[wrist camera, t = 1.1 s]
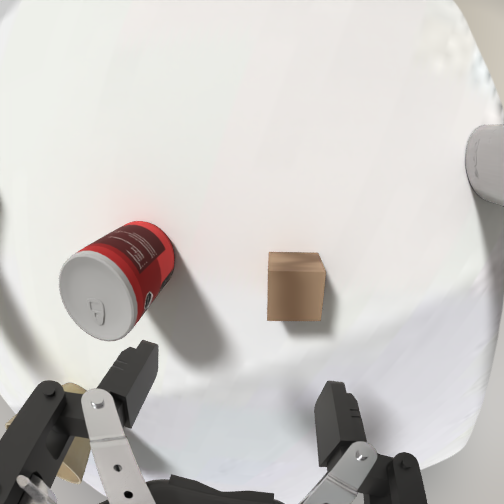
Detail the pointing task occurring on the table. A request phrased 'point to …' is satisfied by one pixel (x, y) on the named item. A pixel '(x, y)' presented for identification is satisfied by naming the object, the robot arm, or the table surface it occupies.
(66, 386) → the plant pot
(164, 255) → the canned food
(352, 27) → the table surface
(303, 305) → the walnut cube
